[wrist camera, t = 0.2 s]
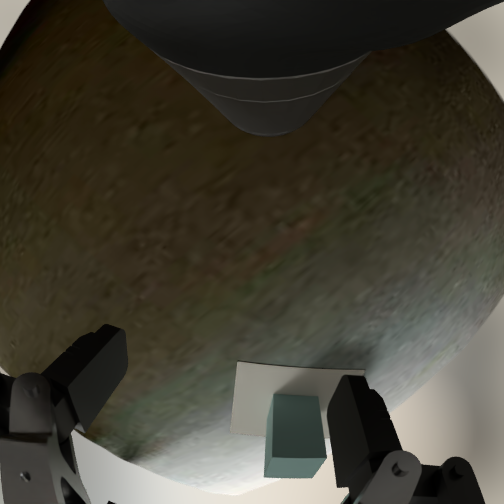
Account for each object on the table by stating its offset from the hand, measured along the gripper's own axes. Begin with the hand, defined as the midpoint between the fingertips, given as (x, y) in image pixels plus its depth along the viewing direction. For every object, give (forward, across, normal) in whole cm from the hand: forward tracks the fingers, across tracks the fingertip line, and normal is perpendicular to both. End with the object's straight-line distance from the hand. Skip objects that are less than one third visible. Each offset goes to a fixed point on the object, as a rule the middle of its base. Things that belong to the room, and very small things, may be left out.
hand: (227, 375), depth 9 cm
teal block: (+19, -8, +22) cm, 30 cm away
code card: (+19, -8, +22) cm, 30 cm away
